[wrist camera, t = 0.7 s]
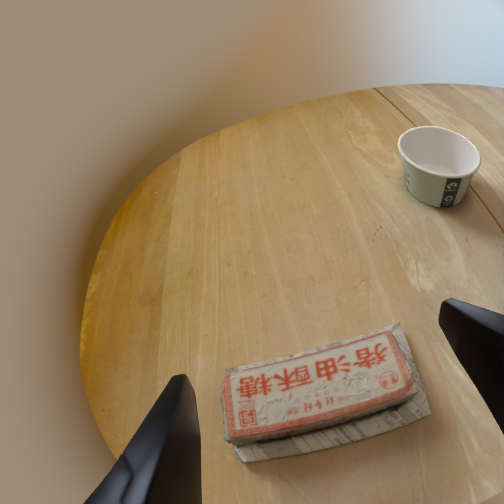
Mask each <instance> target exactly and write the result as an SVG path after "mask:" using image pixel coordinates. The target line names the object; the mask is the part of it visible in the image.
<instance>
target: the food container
mask: <svg viewBox="0 0 504 504" xmlns="http://www.w3.org/2000/svg"><path fill="white" fill-rule="evenodd" d="M398 149H399V152H400V154H401V155H402V158H403V165H404V171H405V179H406V185H407V188H408V190H409V192H410V193H411V194H412V195H413V196H414V197H415V198H416V199H418V200H419V201H421V202H423V203H425V204H427V205H430V206H434V207H451V206H454V205H456V204H458V203H459V202H460V201H461V200H462V198H463V196H464V194H465V192H466V190H467V188H468V186H469V183H470V181H471V179H472V177H473V174H474V173H475V172H476V171H477V170H478V169H479V167H480V164H481V157H480V153H479V151H478V150H477V148H476V147H475V146H474V144H473V143H472V142H471V141H469V140H468V139H467V138H465V137H464V136H462V135H460V134H458V133H456V132H454V131H451V130H449V129H445V128H441V127H434V126H422V127H416V128H412V129H410V130H408V131H406V132H404V133H403V134H402V135H401V136H400V138H399V140H398Z"/></svg>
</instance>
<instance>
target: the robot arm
mask: <svg viewBox="0 0 504 504" xmlns="http://www.w3.org/2000/svg"><path fill="white" fill-rule="evenodd" d="M439 325H440V327H441V329H442V331H443V333H444V334H445V336H446V338H447V340H448V342H449V344H450V345H451V347H452V349H453V351H454V353H455V355H456V356H457V358H458V360H459V361H460V363H461V364H462V366H463V367H464V369H465V370H466V372H467V374H468V375H469V377H470V378H471V380H472V381H473V383H474V385H475V386H476V388H477V389H478V391H479V393H480V394H481V396H482V398H483V399H484V401H485V403H486V404H487V406H488V408H489V409H490V411H491V413H492V415H493V416H494V418H495V420H496V422H497V423H498V425H499V427H500V429H501V431H502V433H503V434H504V315H502V314H499V313H496V312H493V311H490V310H487V309H484V308H481V307H478V306H475V305H472V304H469V303H465V302H462V301H459V300H456V299H453V298H450V299H447V300H445V301H443V302H442V304H441V308H440V314H439ZM84 504H202V489H201V436H200V428H199V420H198V412H197V404H196V396H195V392H194V389H193V387H192V385H191V383H190V381H189V379H188V377H187V376H186V375H185V374H180V375H174V376H173V377H172V378H171V379H170V381H169V383H168V384H167V386H166V387H165V389H164V390H163V392H162V393H161V395H160V396H159V398H158V399H157V401H156V402H155V404H154V405H153V407H152V408H151V410H150V412H149V413H148V415H147V416H146V418H145V419H144V421H143V422H142V424H141V425H140V427H139V428H138V430H137V431H136V433H135V434H134V436H133V437H132V439H131V441H130V442H129V444H128V445H127V447H126V448H125V450H124V451H123V454H121V456H120V457H119V459H118V460H117V462H116V463H115V465H114V466H113V467H112V469H111V471H110V472H109V473H108V474H107V476H106V477H105V478H104V480H103V481H102V482H101V483H100V484H99V486H98V487H97V488H96V489H95V491H94V492H93V493H92V494H91V495H90V496H89V497H88V499H87V500H86V501H85V502H84Z"/></svg>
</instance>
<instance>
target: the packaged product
mask: <svg viewBox="0 0 504 504" xmlns="http://www.w3.org/2000/svg"><path fill="white" fill-rule="evenodd" d="M225 370H226V375H225V377H224V380H223V385H222V388H221V390H222V393H221V395H220V401H221V405H222V410H223V424H224V426H225V432H224V439H225V440H226V441H228V443H233V448H234V456H235V458H236V459H237V460H238V461H239V462H240V463H247V462H256V461H262V460H267V459H273V458H281V457H288V456H294V455H300V454H306V453H310V452H313V451H318V450H323V449H328V448H332V447H337V446H341V445H345V444H349V443H353V442H356V441H360V440H363V439H366V438H370V437H373V436H376V435H379V434H382V433H385V432H388V431H391V430H394V429H397V428H400V427H403V426H405V425H408V424H411V423H413V422H415V421H417V420H419V419H421V418H424V417H426V416H428V415H430V414H432V413H431V410H430V406H429V403H428V399H427V396H426V394H425V391H424V387H423V384H422V381H421V378H420V376H419V373H418V370H417V368H416V365H415V362H414V359H413V357H412V354H411V351H410V348H409V345H408V343H407V340H406V338H405V335H404V333H403V331H402V328H401V325H400V323H396V324H394V325H391V326H388V327H385V328H381V329H378V330H375V331H372V332H369V333H367V334H364V335H361V336H357V337H354V338H351V339H347V340H344V341H340V342H336V343H333V344H329V345H326V346H322V347H319V348H314V349H311V350H307V351H304V352H301V353H299V354H297V355H288V356H284V357H280V358H276V359H272V360H268V361H264V362H258V363H254V364H249V365H244V366H239V367H234V368H229V369H225Z"/></svg>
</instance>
